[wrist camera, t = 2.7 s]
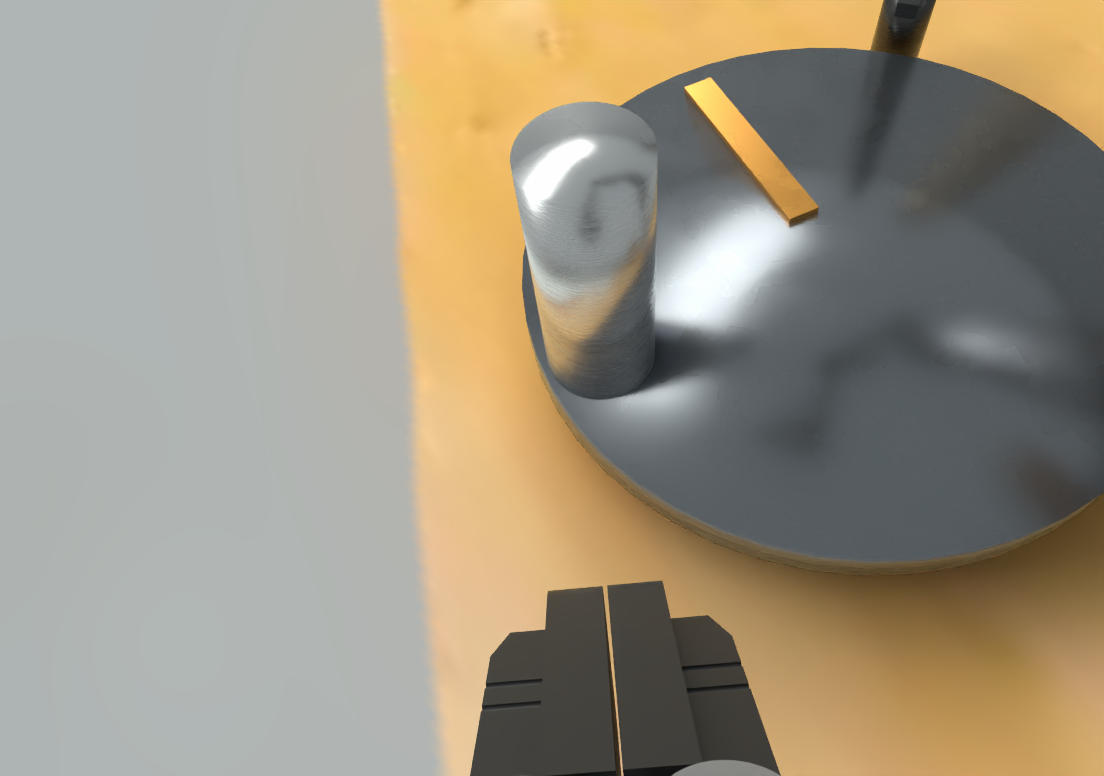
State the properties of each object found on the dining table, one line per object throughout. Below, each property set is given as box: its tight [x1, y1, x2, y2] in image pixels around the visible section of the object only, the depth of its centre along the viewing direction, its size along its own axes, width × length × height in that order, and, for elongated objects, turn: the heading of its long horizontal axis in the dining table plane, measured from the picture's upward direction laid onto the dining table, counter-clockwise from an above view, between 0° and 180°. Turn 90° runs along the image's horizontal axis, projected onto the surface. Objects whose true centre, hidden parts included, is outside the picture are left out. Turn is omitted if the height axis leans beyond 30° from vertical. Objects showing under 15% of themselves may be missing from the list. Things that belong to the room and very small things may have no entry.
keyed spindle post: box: [870, 0, 936, 58], centre depth 32 cm, size 13×19×6 cm, turn 3°
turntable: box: [510, 48, 1104, 576], centre depth 26 cm, size 22×22×10 cm
